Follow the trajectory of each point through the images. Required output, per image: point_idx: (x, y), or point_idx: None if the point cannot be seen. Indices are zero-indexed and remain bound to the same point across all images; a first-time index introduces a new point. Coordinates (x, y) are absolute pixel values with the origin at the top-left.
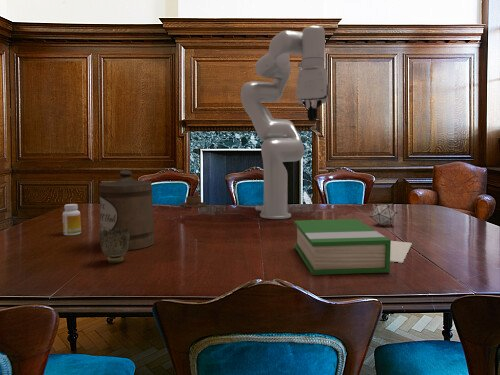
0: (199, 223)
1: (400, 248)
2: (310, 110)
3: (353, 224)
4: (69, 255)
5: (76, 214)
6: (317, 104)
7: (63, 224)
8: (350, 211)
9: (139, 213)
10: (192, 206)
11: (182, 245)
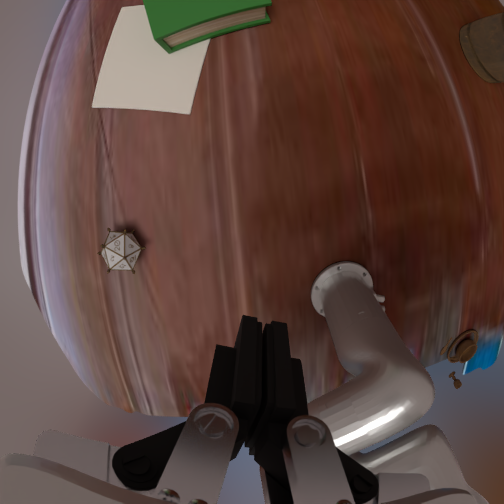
0: (459, 197)
1: (110, 65)
2: (272, 389)
3: (164, 1)
4: None
5: None
6: (173, 445)
7: None
8: (201, 363)
9: (487, 19)
10: (466, 331)
11: (431, 38)
